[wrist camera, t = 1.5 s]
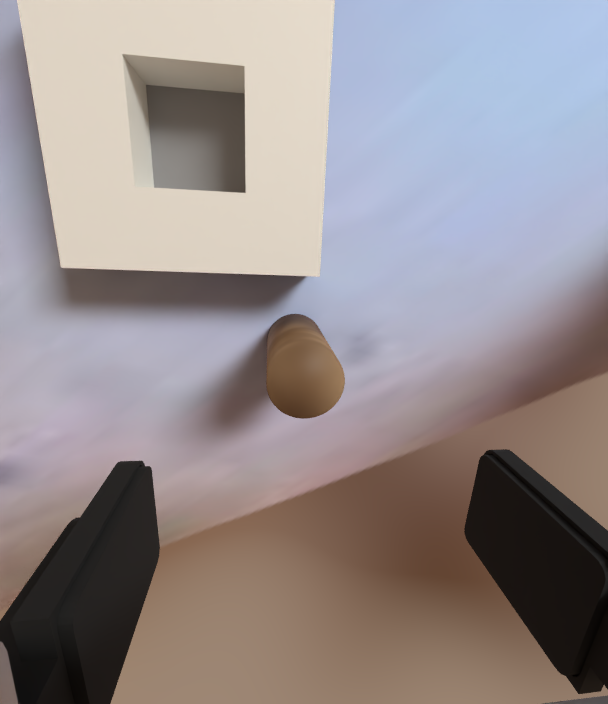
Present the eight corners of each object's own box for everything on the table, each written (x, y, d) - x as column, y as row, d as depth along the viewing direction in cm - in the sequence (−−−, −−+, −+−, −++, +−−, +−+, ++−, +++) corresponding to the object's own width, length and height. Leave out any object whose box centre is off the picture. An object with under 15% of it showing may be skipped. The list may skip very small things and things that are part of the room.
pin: (323, 314, 25) (347, 345, 17) (320, 366, 26) (341, 417, 18) (267, 313, 24) (266, 344, 17) (266, 366, 25) (266, 418, 18)
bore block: (323, 19, 19) (336, -36, 16) (311, 271, 24) (319, 276, 20) (60, -11, 18) (4, -80, 14) (96, 263, 22) (61, 267, 18)
